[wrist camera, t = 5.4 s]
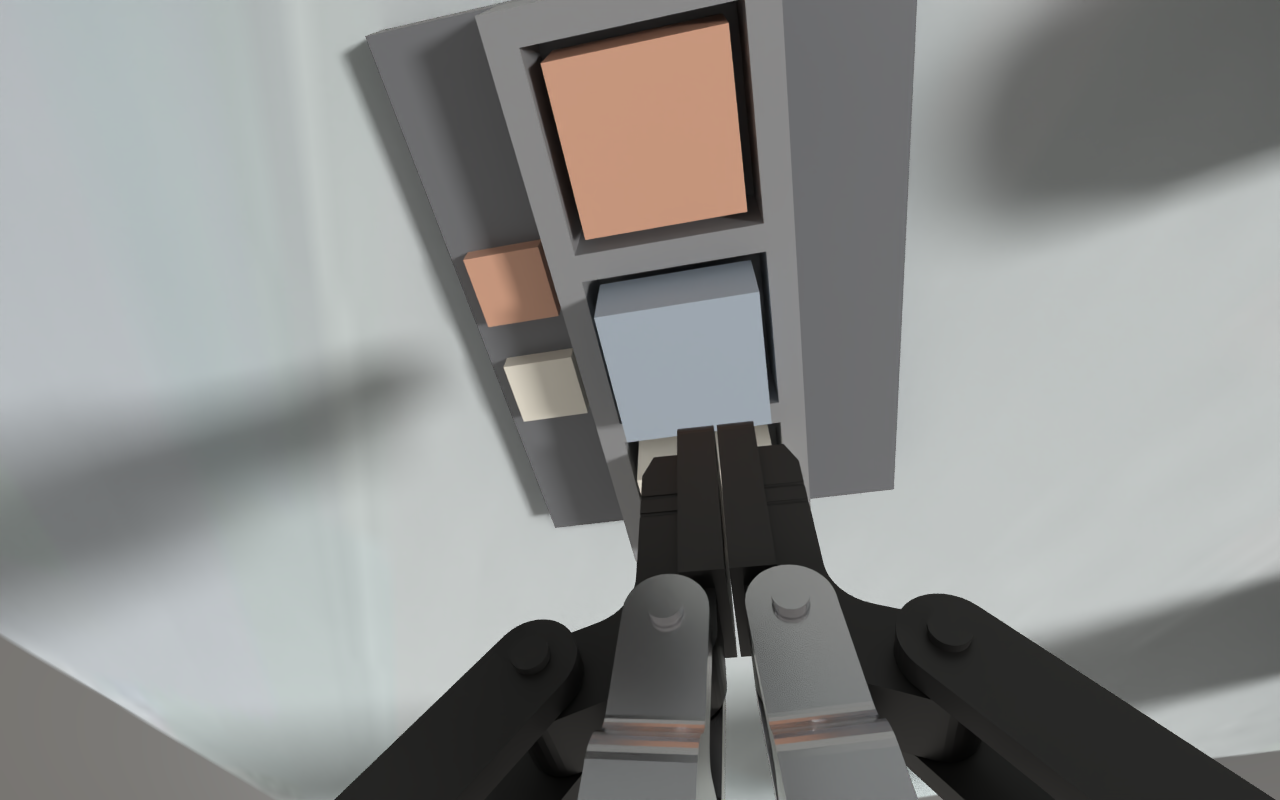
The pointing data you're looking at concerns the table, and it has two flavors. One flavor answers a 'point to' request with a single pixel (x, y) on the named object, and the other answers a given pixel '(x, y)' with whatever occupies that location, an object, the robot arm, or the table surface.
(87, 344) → the table surface
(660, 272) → the keypad
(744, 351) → the key slate
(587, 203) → the key terracotta
